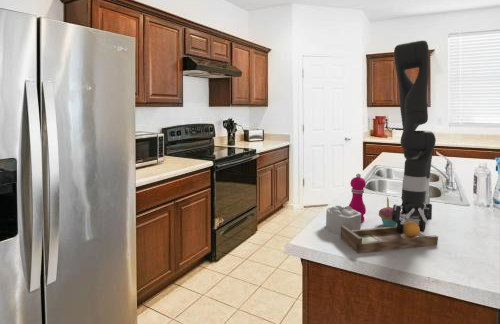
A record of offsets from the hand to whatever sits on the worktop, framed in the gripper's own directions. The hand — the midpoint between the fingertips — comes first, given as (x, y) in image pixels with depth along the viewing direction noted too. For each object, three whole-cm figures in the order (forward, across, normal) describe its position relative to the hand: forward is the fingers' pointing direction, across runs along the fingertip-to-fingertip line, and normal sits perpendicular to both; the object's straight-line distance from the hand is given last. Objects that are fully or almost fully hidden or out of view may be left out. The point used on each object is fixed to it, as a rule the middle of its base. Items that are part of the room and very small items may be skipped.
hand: (410, 232), depth 117 cm
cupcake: (+3, -2, -15) cm, 15 cm away
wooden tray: (+3, +9, 0) cm, 9 cm away
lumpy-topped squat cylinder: (+3, +19, -15) cm, 24 cm away
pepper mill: (+3, +8, -23) cm, 25 cm away
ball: (-1, 0, 0) cm, 1 cm away
